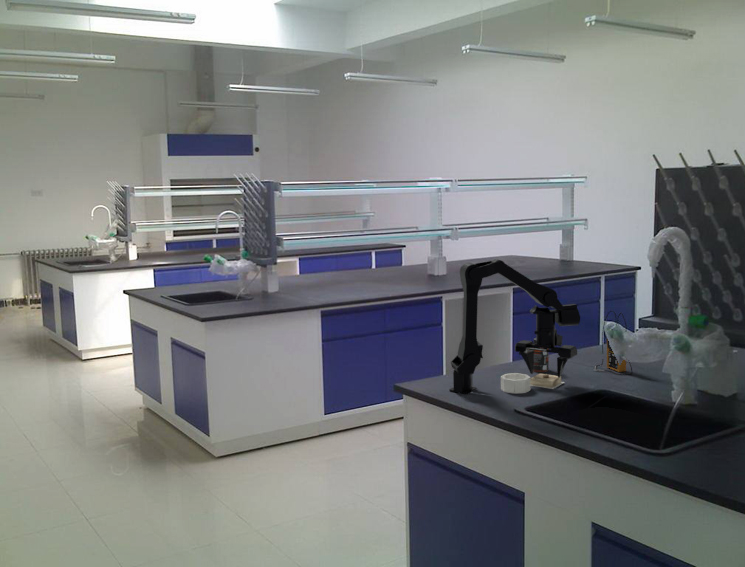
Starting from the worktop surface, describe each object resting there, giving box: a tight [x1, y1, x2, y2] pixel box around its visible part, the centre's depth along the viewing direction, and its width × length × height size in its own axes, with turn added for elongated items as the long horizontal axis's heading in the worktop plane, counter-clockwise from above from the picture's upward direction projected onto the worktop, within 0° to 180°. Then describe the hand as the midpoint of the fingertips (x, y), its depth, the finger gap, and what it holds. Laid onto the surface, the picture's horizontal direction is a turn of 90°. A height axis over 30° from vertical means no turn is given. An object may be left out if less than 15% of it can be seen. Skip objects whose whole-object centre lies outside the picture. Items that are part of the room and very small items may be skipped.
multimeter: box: [594, 310, 633, 376], centre depth 244 cm, size 15×10×20 cm
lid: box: [530, 373, 562, 389], centre depth 230 cm, size 7×7×3 cm
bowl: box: [500, 372, 531, 394], centre depth 225 cm, size 8×8×4 cm
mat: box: [530, 381, 566, 390], centre depth 230 cm, size 9×9×1 cm
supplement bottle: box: [533, 337, 550, 373], centre depth 247 cm, size 6×6×11 cm
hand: (545, 375), depth 230 cm, fingers open, 9 cm apart
